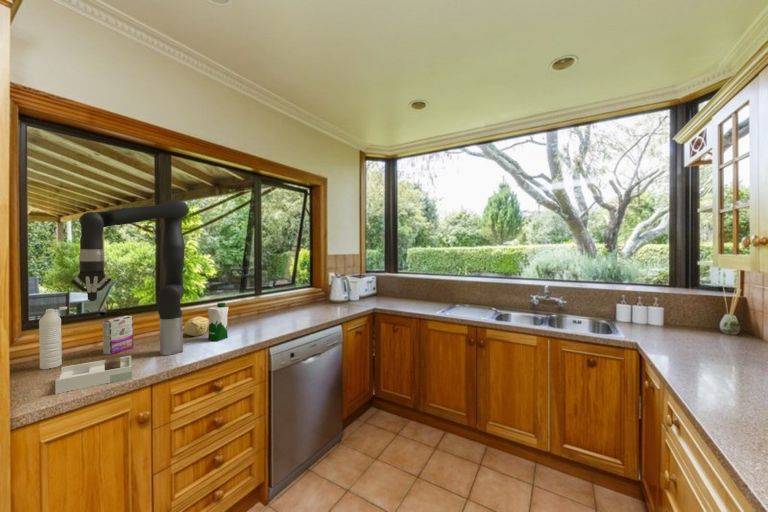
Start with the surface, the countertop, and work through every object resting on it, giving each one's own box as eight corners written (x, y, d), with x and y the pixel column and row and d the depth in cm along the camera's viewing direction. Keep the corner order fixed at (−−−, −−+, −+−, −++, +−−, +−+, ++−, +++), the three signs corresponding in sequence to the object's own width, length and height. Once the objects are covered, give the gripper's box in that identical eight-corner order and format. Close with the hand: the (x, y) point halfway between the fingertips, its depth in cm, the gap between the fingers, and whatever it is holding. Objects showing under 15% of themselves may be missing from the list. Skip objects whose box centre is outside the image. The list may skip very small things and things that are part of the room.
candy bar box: (125, 346, 160) (125, 315, 160) (133, 347, 159) (133, 315, 159) (102, 354, 149) (101, 320, 149) (110, 355, 148) (110, 321, 148)
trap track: (131, 367, 135) (131, 355, 135) (132, 378, 123) (131, 366, 123) (62, 379, 121) (61, 367, 121) (55, 394, 110) (55, 380, 110)
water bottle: (44, 370, 129) (43, 311, 128) (36, 368, 132) (35, 309, 131) (71, 363, 137) (71, 307, 137) (63, 361, 140) (62, 305, 139)
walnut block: (120, 368, 126) (120, 357, 126) (120, 372, 122) (119, 360, 122) (105, 371, 123) (105, 359, 123) (104, 374, 120) (104, 363, 119)
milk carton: (230, 337, 179) (230, 303, 178) (216, 342, 171) (216, 306, 170) (219, 335, 182) (219, 301, 182) (205, 340, 174) (205, 304, 173)
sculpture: (198, 338, 177) (198, 319, 176) (179, 336, 179) (179, 318, 178) (212, 332, 188) (212, 315, 188) (194, 331, 190) (194, 314, 190)
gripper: (113, 259, 138) (113, 298, 138) (70, 259, 129) (71, 301, 130) (112, 260, 132) (112, 300, 132) (68, 260, 123) (68, 304, 124)
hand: (92, 301), depth 131 cm, fingers closed
